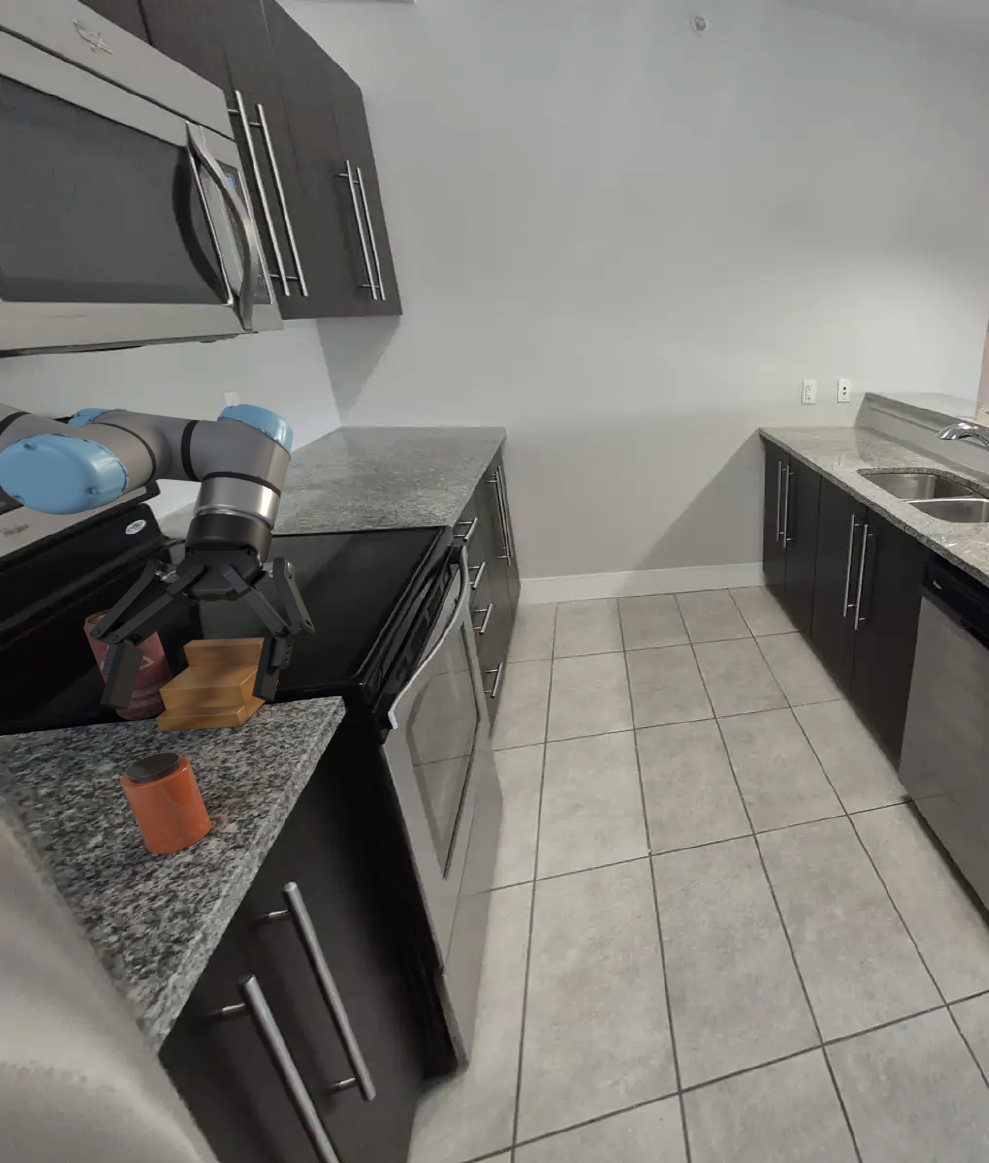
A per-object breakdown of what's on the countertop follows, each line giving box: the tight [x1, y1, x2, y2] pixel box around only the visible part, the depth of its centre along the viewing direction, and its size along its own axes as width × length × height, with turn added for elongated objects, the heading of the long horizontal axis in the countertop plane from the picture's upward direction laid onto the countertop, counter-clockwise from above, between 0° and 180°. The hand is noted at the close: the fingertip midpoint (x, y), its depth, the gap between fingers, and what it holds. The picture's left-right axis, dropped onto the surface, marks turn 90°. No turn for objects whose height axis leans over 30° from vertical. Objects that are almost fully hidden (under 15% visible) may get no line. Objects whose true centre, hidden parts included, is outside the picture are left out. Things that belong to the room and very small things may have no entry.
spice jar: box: [119, 752, 212, 855], centre depth 64 cm, size 5×5×9 cm
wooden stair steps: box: [155, 637, 279, 732], centre depth 85 cm, size 9×10×8 cm
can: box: [83, 608, 174, 721], centre depth 83 cm, size 6×6×14 cm
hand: (189, 702), depth 68 cm, fingers open, 13 cm apart
